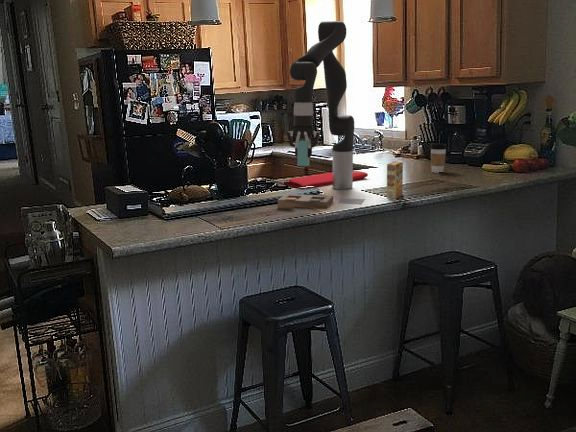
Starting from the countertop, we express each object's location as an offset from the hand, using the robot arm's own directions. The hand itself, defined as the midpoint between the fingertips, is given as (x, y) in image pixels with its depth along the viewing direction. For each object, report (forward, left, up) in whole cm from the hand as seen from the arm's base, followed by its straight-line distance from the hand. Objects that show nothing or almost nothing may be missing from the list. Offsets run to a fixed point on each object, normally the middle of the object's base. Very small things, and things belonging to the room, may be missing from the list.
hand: (303, 157), depth 255 cm
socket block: (+1, +1, -20) cm, 20 cm away
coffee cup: (-92, +48, -20) cm, 106 cm away
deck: (-8, +18, -20) cm, 28 cm away
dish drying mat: (-54, -3, -21) cm, 58 cm away
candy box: (-22, +34, -20) cm, 45 cm away
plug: (0, 0, -3) cm, 3 cm away
